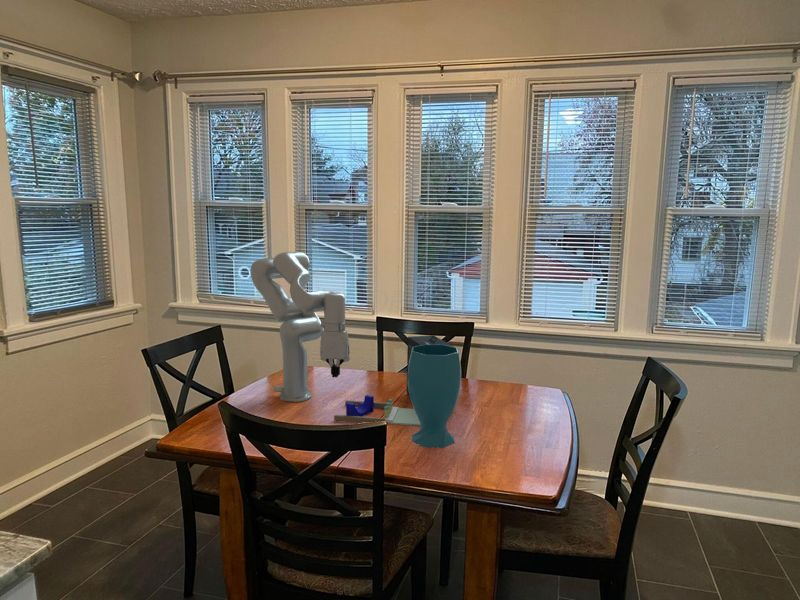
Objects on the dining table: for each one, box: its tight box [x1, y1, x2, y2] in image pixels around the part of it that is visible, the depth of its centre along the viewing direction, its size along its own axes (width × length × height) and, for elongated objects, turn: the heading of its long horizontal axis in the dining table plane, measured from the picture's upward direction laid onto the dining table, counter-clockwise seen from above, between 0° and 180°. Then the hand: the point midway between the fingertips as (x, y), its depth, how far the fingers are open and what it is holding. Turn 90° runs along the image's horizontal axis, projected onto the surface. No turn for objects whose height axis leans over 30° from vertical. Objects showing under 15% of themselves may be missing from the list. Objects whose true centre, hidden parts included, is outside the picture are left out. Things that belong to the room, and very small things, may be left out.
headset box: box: [406, 334, 454, 395], centre depth 217 cm, size 22×12×26 cm, turn 19°
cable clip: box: [345, 394, 375, 417], centre depth 202 cm, size 12×4×6 cm, turn 144°
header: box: [333, 398, 421, 427], centre depth 201 cm, size 33×17×5 cm, turn 81°
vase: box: [408, 344, 462, 449], centre depth 179 cm, size 17×17×30 cm
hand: (335, 376), depth 202 cm, fingers closed
